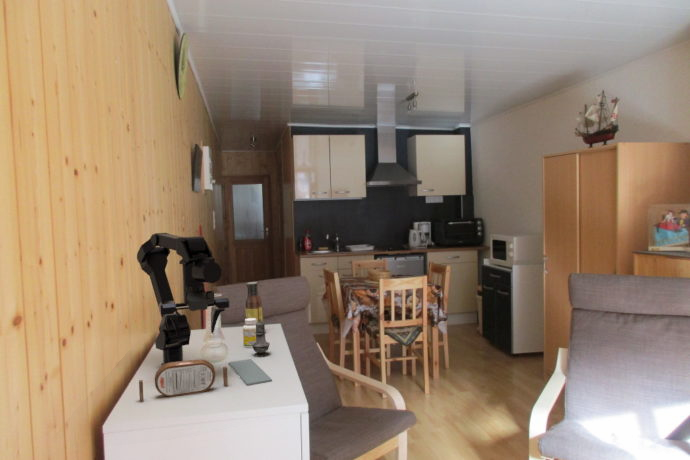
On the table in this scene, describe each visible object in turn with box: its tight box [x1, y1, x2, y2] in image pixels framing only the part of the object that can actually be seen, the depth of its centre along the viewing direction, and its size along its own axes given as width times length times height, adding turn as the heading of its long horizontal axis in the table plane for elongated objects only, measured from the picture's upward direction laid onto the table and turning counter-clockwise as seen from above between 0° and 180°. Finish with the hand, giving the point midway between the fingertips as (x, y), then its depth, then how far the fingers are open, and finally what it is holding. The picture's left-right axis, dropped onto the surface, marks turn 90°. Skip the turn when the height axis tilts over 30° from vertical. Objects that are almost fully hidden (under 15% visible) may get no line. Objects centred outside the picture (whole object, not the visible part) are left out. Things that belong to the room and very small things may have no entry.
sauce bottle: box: [245, 281, 264, 323], centre depth 188 cm, size 6×6×20 cm
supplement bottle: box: [242, 318, 257, 349], centre depth 171 cm, size 5×5×10 cm
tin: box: [154, 358, 216, 398], centre depth 127 cm, size 15×3×8 cm, turn 109°
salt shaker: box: [252, 319, 271, 358], centre depth 160 cm, size 6×6×12 cm
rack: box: [138, 366, 229, 403], centre depth 127 cm, size 2×22×5 cm, turn 116°
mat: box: [228, 358, 273, 387], centre depth 143 cm, size 22×7×1 cm, turn 26°
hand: (195, 334), depth 140 cm, fingers open, 9 cm apart
